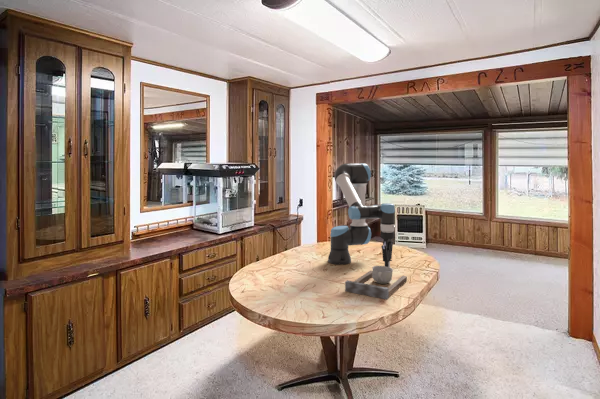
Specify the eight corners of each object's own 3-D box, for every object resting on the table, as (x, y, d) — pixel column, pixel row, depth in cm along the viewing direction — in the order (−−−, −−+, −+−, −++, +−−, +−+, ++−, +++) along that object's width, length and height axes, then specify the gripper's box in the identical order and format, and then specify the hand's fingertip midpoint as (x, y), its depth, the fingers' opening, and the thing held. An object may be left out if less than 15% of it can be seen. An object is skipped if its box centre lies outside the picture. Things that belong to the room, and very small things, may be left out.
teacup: (376, 278, 208) (376, 264, 208) (395, 281, 202) (395, 267, 201) (366, 284, 197) (366, 270, 196) (386, 288, 191) (386, 273, 190)
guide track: (345, 291, 188) (345, 281, 187) (369, 274, 215) (369, 266, 214) (386, 299, 176) (386, 289, 175) (407, 280, 203) (407, 272, 202)
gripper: (390, 233, 197) (389, 276, 199) (397, 229, 208) (397, 270, 210) (376, 232, 201) (376, 274, 203) (385, 228, 212) (384, 268, 214)
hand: (387, 272), depth 207 cm, fingers closed
